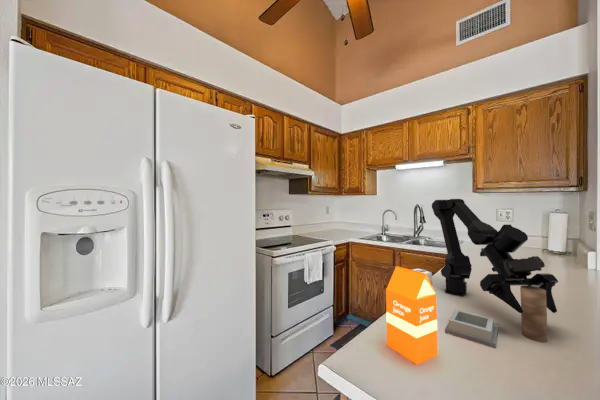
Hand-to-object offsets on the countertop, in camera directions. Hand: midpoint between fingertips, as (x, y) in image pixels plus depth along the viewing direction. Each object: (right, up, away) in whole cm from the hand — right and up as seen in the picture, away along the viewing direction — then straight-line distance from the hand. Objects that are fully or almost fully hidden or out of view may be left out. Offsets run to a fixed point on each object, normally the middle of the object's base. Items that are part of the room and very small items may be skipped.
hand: (538, 312), depth 63 cm
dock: (-15, -7, +4) cm, 17 cm away
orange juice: (-36, -8, -4) cm, 37 cm away
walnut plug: (0, -7, +1) cm, 7 cm away
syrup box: (-25, -8, +14) cm, 29 cm away
